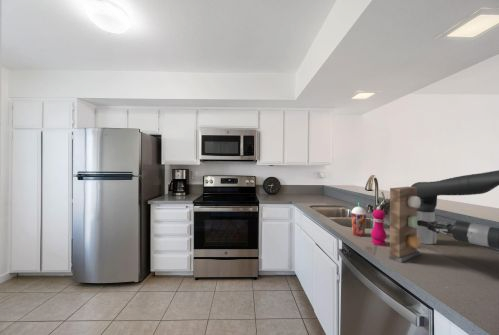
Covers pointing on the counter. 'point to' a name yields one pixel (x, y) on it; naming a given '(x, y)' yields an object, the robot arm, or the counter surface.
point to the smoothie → (358, 220)
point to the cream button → (414, 201)
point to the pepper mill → (378, 228)
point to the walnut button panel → (401, 224)
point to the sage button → (413, 221)
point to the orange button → (413, 241)
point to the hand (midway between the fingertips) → (418, 222)
